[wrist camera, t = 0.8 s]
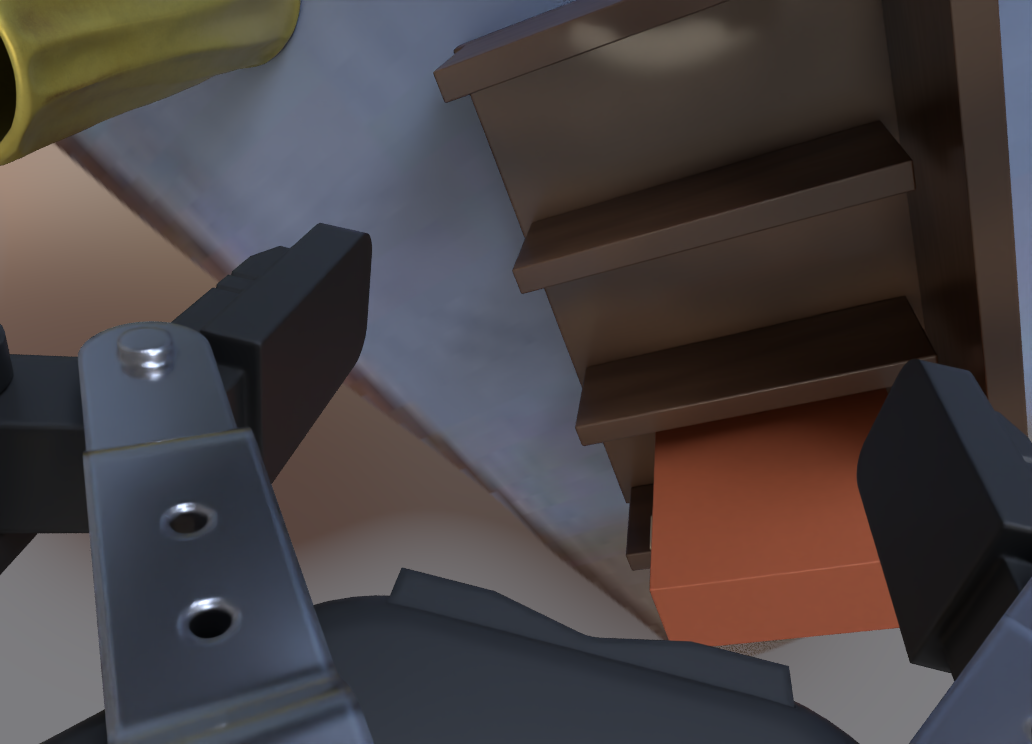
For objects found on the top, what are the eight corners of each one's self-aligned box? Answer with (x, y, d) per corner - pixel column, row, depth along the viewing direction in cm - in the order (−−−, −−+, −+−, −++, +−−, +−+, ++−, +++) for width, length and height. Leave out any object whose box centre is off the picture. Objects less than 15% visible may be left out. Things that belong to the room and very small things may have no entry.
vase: (140, 30, 31) (-197, 132, 19) (152, -147, 27) (-249, -157, 15) (286, 91, 31) (46, 229, 19) (317, -76, 28) (48, -33, 16)
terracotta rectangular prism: (653, 401, 35) (645, 590, 26) (873, 356, 32) (952, 552, 23) (671, 454, 36) (670, 651, 27) (883, 415, 33) (961, 622, 24)
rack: (457, 46, 29) (383, 106, 22) (895, -123, 24) (991, -120, 17) (627, 493, 39) (615, 637, 32) (961, 437, 34) (1039, 592, 27)
